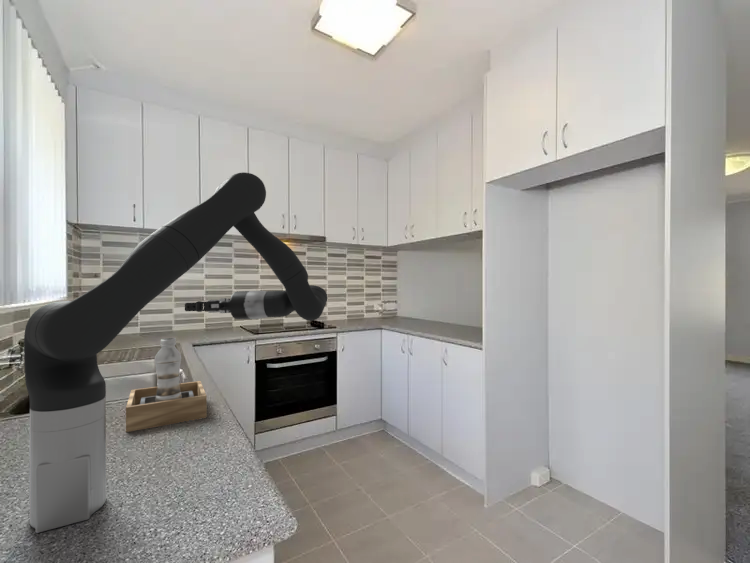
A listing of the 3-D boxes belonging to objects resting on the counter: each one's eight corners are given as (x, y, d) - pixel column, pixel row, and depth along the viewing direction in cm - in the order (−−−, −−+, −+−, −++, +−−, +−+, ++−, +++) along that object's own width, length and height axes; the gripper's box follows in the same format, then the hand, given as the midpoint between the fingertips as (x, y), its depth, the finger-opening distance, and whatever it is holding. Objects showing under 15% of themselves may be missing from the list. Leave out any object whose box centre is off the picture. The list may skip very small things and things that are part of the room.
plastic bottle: (185, 410, 100) (185, 338, 101) (158, 416, 96) (158, 341, 96) (177, 405, 105) (177, 336, 105) (151, 411, 100) (151, 339, 100)
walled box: (206, 417, 97) (206, 395, 97) (126, 432, 88) (125, 407, 88) (200, 400, 113) (200, 380, 113) (131, 410, 103) (131, 389, 103)
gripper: (262, 291, 104) (209, 293, 105) (239, 289, 90) (178, 292, 91) (263, 317, 103) (209, 319, 105) (239, 320, 89) (178, 322, 91)
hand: (195, 306), depth 98 cm, fingers open, 8 cm apart
